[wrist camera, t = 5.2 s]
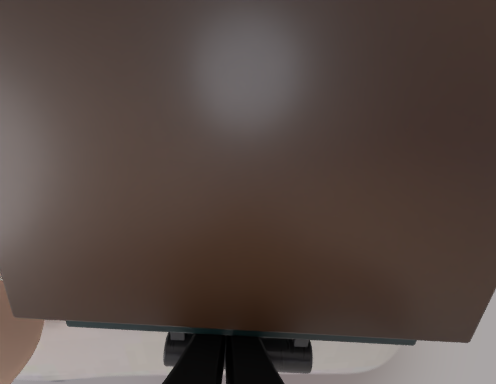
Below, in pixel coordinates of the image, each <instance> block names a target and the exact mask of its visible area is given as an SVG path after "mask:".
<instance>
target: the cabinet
mask: <svg viewBox="0 0 496 384" xmlns="http://www.w3.org/2000/svg"><path fill="white" fill-rule="evenodd" d="M0 272H1V276H2V279H3V283H4V286H5V289H6V293H7V296H8V300H9V303H10V307H11V310H12V314H13V316H14V317H15V318H29V319H47V320H65V321H83V322H101V323H119V324H137V325H155V326H173V327H191V328H209V329H227V330H245V331H263V332H281V333H299V334H317V335H335V336H353V337H371V338H389V339H407V340H425V341H426V340H427V341H443V342H461V343H468V342H470V341H471V339H472V336H473V334H474V332H475V330H476V328H477V326H478V324H479V322H480V320H481V318H482V316H483V314H484V312H485V310H486V307H487V305H488V303H489V301H490V299H491V297H492V295H493V293H494V291H495V289H496V0H0Z"/></svg>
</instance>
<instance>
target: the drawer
mask: <svg viewBox="0 0 496 384" xmlns="http://www.w3.org/2000/svg"><path fill="white" fill-rule="evenodd" d="M66 324H67V326H69V327H86V328H104V329H122V330H140V331H159V332H168V335H167V338H166V342H165V348H164V365H165V366H173V367H174V366H175V364H176V363H177V361H178V360H179V358H180V356H181V355H182V353H183V352H184V350H185V348H186V347H187V345H188V343H189V341H190V340H191V338H192V336H193V334H194V333H195V334H213V335H226V338H227V335H231V336H250V337H260V338H261V341H262V343H263V345H264V347H265V349H266V351H267V353H268V355H269V357H270V359H271V361H272V363H273V365H274V367H275V369H276V370H277V372H290V373H310V372H311V369H312V346H311V342H310V340H322V341H341V342H359V343H377V344H395V345H415V343H416V341H417V340H407V339H389V338H371V337H353V336H335V335H317V334H299V333H281V332H263V331H245V330H227V329H209V328H191V327H173V326H155V325H137V324H119V323H101V322H83V321H66ZM225 360H226V340H225V359H224V369H226V366H225Z"/></svg>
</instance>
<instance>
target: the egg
mask: <svg viewBox="0 0 496 384" xmlns="http://www.w3.org/2000/svg"><path fill="white" fill-rule="evenodd" d="M43 325H44V319H29V318H15V317H14V316H13V314H12V310H11V307H10V303H9V300H8V296H7V293H6V289H5V286H4V283H3V281H0V384H11V383H12V382H13V380H14V379H15V378H16V377H17V375H18V374H19V373H20V372H21V370H22V369H23V368H24V367H25V365H26V364H27V362H28V361H29V359H30V358H31V356H32V355H33V353H34V351H35V349H36V347H37V345H38V342H39V340H40V337H41V333H42V329H43Z"/></svg>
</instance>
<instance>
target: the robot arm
mask: <svg viewBox="0 0 496 384" xmlns="http://www.w3.org/2000/svg"><path fill="white" fill-rule="evenodd" d="M225 340H226V360H225V366H226V384H284V382H283V381H282V379H281V377H280V376H279V374H278V372H277V370H276V369H275V367H274V365H273V363H272V361H271V359H270V357H269V355H268V353H267V351H266V349H265V347H264V345H263V343H262V341H261V338H260V337H250V336H231V335H227V338H226V335H213V334H195V333H194V334H193V336H192V338H191V340H190V341H189V343H188V345H187V347H186V348H185V350H184V352H183V353H182V355H181V356H180V358H179V360H178V361H177V363H176V364H175V366H174V367H173V369H172V370H171V372H170V373H169V375H168V376H167V378H166V379H165V381H164V382H163V383H162V384H221V383H222V376H223V369H224V359H225Z"/></svg>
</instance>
